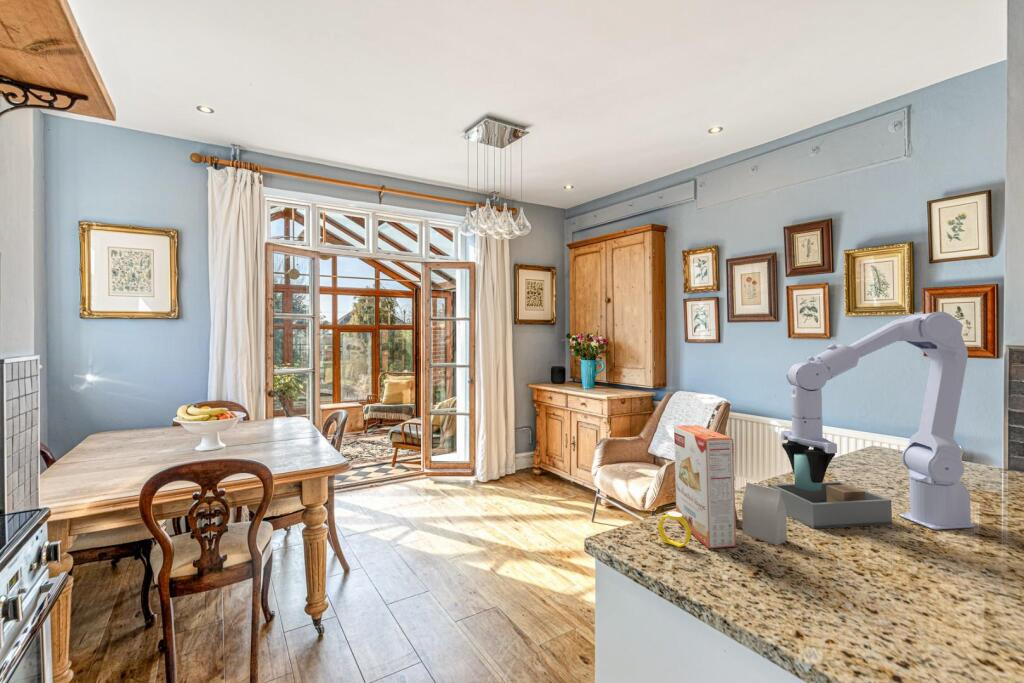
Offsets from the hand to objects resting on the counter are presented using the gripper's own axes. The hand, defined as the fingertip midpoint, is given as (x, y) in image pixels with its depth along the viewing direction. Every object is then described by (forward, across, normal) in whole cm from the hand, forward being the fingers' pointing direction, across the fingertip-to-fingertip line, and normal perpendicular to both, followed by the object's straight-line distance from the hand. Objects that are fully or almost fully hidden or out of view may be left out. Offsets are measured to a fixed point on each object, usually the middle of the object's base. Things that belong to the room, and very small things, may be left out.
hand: (807, 478), depth 103 cm
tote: (+8, 0, +4) cm, 9 cm away
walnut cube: (+8, 0, +9) cm, 12 cm away
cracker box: (+8, +6, -28) cm, 29 cm away
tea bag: (+8, +9, -16) cm, 21 cm away
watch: (+8, +10, -36) cm, 38 cm away
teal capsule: (+2, 0, 0) cm, 2 cm away
